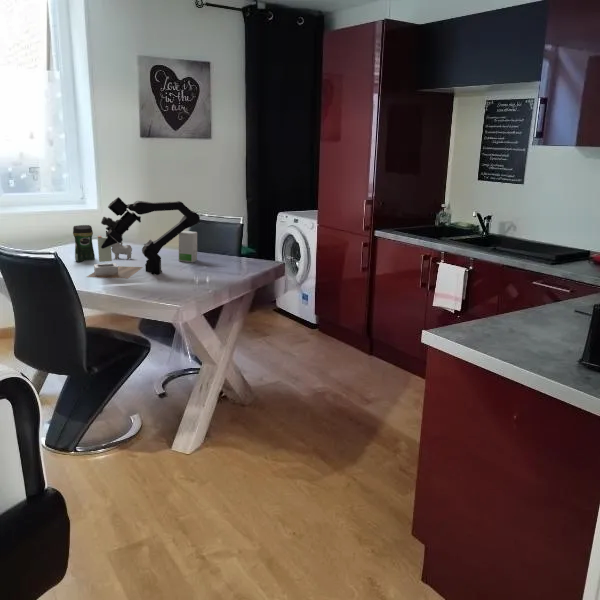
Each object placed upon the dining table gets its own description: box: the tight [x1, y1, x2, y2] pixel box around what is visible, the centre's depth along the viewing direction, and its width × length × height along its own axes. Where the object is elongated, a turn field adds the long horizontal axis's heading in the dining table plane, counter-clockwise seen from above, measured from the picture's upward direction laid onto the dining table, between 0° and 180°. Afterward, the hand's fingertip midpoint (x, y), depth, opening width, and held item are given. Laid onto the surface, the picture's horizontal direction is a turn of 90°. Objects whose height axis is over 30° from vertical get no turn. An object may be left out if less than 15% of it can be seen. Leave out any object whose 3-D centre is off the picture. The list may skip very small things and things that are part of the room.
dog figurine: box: [111, 241, 133, 261], centre depth 305 cm, size 5×13×11 cm, turn 91°
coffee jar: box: [72, 224, 96, 263], centre depth 296 cm, size 10×8×19 cm
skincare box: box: [178, 230, 198, 263], centre depth 305 cm, size 8×7×16 cm
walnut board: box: [86, 265, 144, 279], centre depth 273 cm, size 19×24×1 cm
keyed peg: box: [97, 235, 113, 263], centre depth 265 cm, size 5×3×12 cm, turn 113°
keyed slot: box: [93, 262, 118, 276], centre depth 268 cm, size 10×8×4 cm
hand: (101, 247), depth 264 cm, fingers closed on keyed peg, 3 cm apart
